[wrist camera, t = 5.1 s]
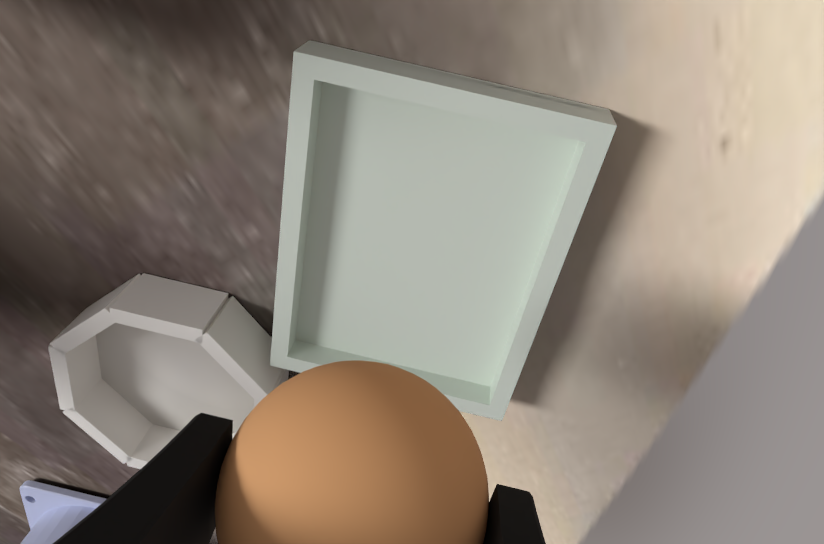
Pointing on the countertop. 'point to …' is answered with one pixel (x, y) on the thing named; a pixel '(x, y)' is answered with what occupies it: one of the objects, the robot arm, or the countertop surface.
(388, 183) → the tray
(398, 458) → the rubber ball
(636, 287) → the countertop surface
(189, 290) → the bowl
